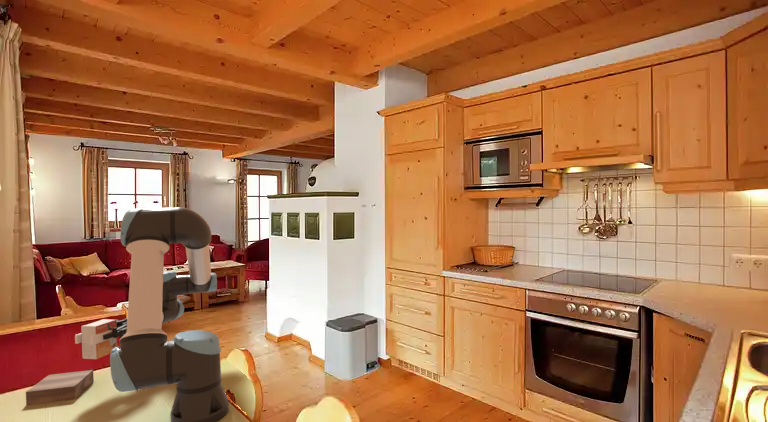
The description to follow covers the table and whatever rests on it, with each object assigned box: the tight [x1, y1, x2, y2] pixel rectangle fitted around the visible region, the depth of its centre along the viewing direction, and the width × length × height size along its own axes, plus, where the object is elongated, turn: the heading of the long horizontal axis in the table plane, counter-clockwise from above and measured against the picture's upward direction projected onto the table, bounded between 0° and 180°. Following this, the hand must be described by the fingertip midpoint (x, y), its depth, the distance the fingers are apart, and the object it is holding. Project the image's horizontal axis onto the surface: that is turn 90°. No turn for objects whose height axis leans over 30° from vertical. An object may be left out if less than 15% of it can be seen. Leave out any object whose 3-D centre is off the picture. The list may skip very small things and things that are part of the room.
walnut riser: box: [25, 369, 95, 406], centre depth 133 cm, size 13×13×4 cm
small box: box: [80, 318, 118, 360], centre depth 132 cm, size 8×6×10 cm
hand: (84, 340), depth 127 cm, fingers closed on small box, 6 cm apart
